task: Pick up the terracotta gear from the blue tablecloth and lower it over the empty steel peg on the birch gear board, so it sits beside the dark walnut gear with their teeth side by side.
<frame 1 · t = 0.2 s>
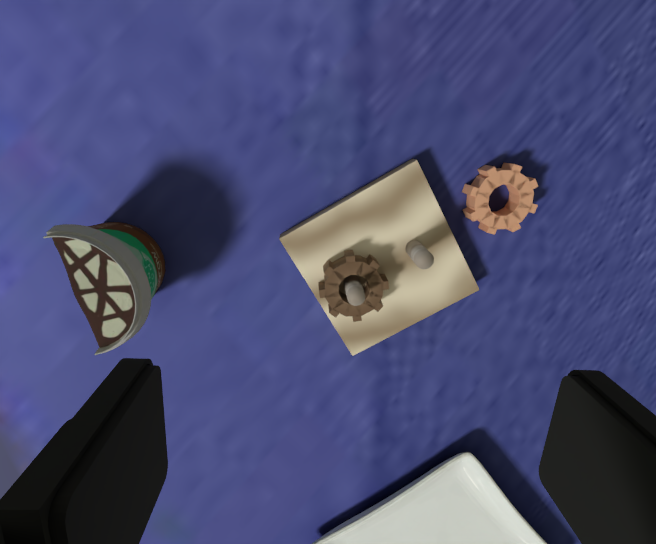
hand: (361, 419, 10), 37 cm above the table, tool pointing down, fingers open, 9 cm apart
gear board: (379, 259, 47), on the table
square plate: (431, 538, 62), on the table
food container: (147, 258, 46), on the table
terracotta gear: (494, 196, 46), on the table
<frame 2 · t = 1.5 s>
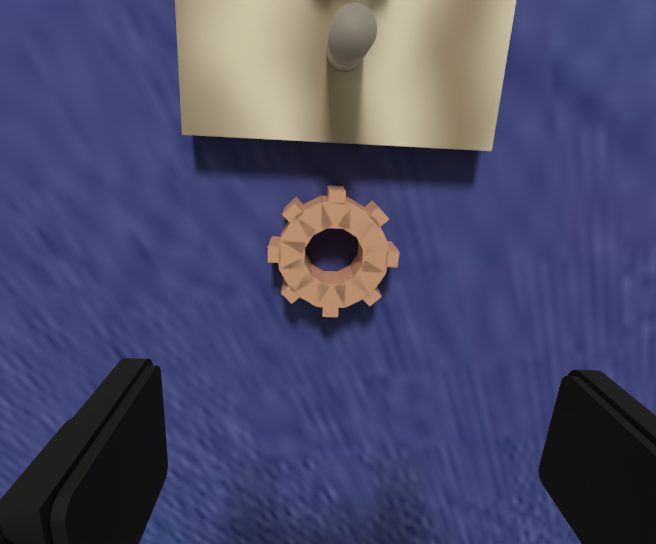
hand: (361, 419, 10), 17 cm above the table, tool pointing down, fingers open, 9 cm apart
terracotta gear: (331, 246, 26), on the table
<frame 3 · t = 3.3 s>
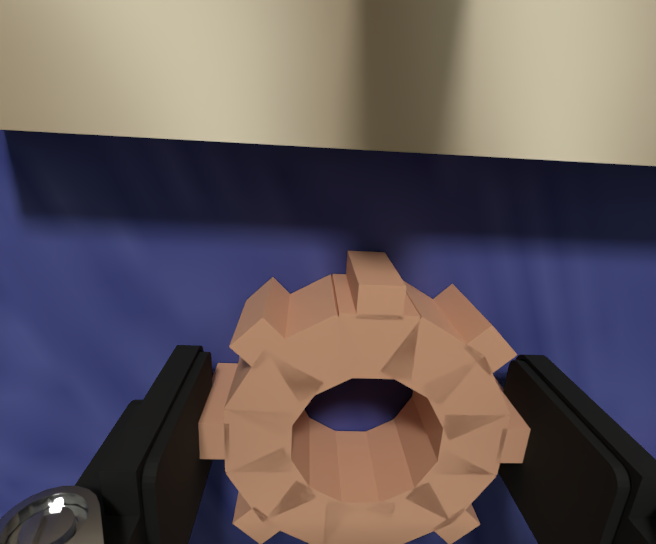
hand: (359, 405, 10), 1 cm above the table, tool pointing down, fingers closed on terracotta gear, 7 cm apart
terracotta gear: (355, 381, 11), on the table, touching gripper
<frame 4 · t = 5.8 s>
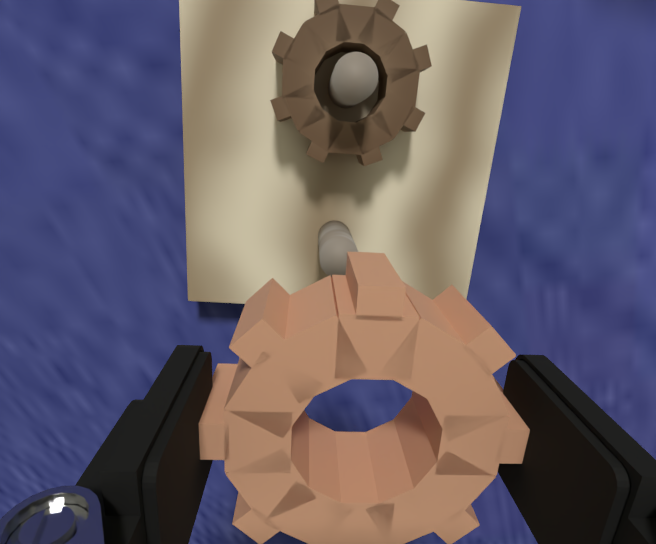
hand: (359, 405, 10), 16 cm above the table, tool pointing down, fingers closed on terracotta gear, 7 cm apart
gear board: (337, 163, 24), on the table
terracotta gear: (354, 382, 11), point 15 cm above the table, touching gripper
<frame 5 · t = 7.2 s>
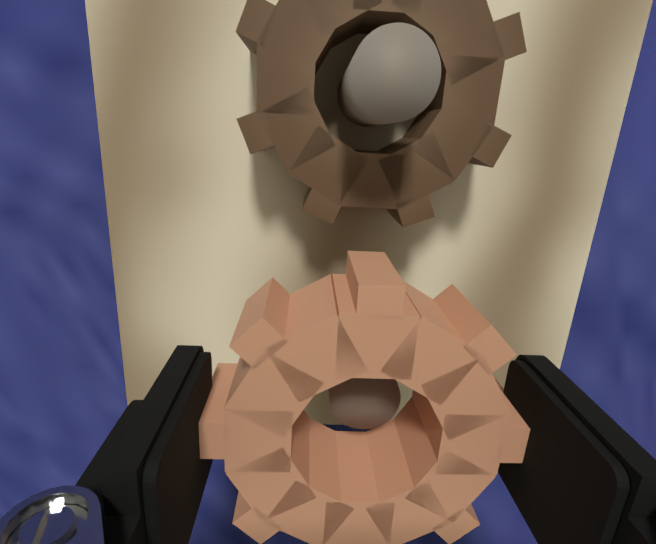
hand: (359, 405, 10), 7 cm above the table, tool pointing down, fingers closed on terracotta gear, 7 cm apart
gear board: (352, 208, 16), on the table
terracotta gear: (354, 381, 11), point 6 cm above the table, touching gripper
when the fingers open (4 cm above the table, at t = 8.2 s): terracotta gear drops 1 cm, resting on gear board.
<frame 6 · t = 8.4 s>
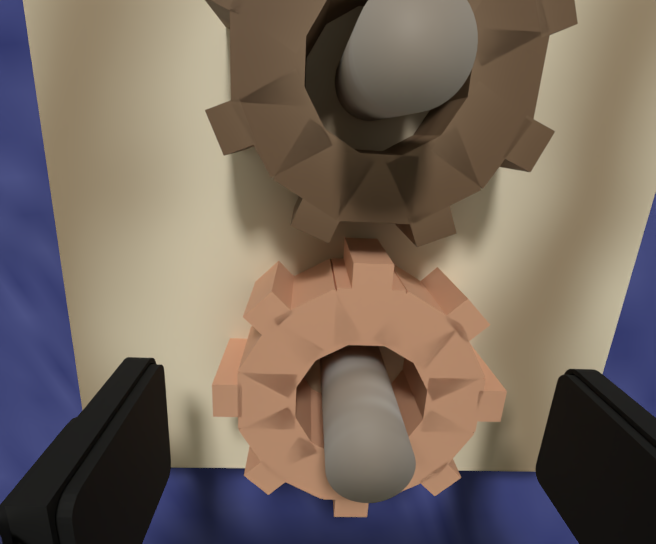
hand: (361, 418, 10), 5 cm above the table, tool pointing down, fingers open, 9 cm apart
gear board: (352, 218, 13), on the table
terracotta gear: (351, 355, 13), point 2 cm above the table, touching gear board
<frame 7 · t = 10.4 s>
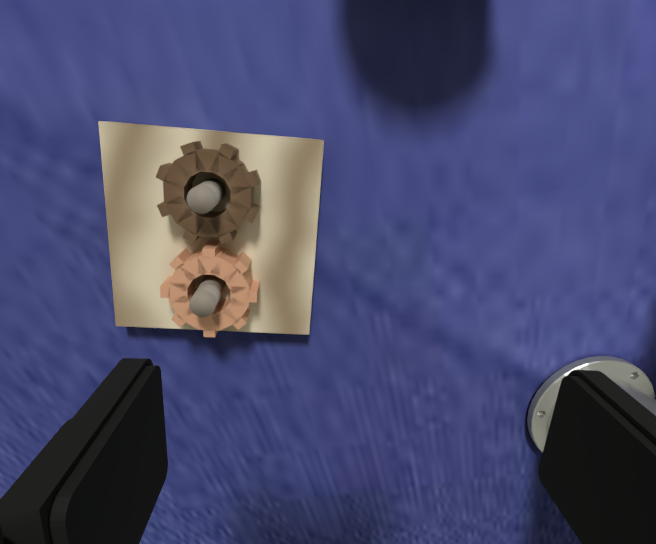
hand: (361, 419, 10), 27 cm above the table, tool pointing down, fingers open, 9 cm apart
gear board: (218, 232, 35), on the table
terracotta gear: (215, 283, 34), point 2 cm above the table, touching gear board
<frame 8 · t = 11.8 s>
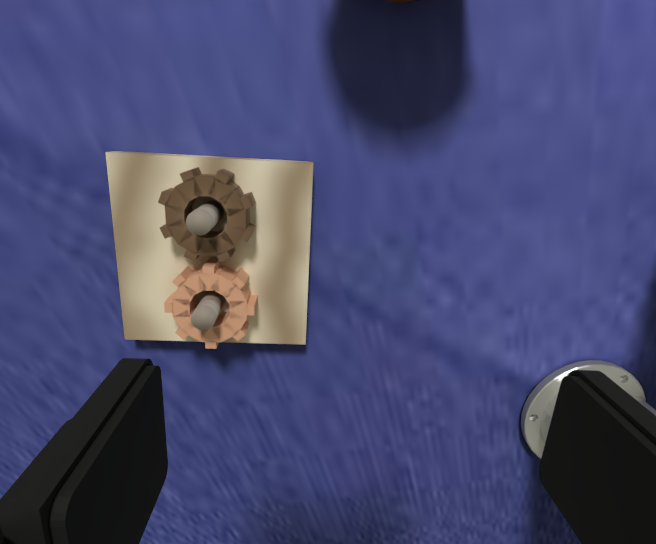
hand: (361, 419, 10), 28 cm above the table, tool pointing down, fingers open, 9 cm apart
gear board: (218, 250, 37), on the table
terracotta gear: (215, 298, 37), point 2 cm above the table, touching gear board
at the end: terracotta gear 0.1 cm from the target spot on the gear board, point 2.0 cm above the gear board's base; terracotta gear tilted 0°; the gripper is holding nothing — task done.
